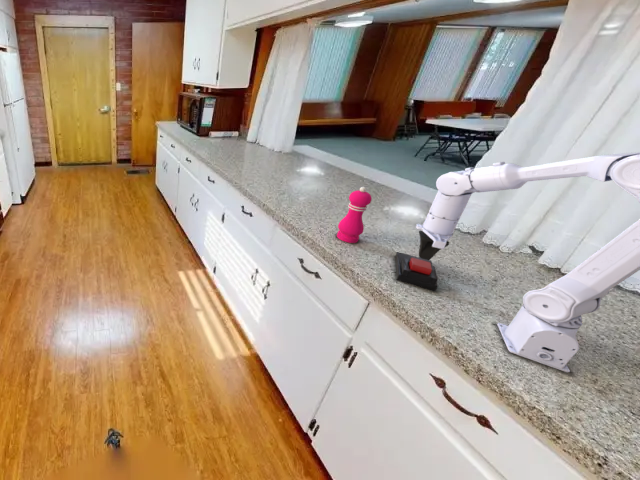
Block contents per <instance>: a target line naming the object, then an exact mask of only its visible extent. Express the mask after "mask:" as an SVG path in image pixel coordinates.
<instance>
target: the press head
mask: <svg viewBox="0 0 640 480" xmlns="http://www.w3.org/2000/svg"><path fill="white" fill-rule="evenodd" d="M409 267H410V270H414V271H417V272H421V273H424V274H428V275H430V273H431V271H432V268H431V263H430V262H426V261H423V260H419V259H415V258H411V260H410V262H409Z"/></svg>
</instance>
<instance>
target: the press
mask: <svg viewBox="0 0 640 480" xmlns="http://www.w3.org/2000/svg"><path fill="white" fill-rule="evenodd" d="M411 258H415V259H419V260H423V261H426V262H430V263H431V268H432V271H431V273H430V275H428V274H424V273H421V272H417V271H414V270H410V267H409V262H410V260H411ZM394 263H395V275H396V281H397V282H402V283H405V284H407V285H411V286H415V287H418V288H421V289H424V290H428V291H431V292H436V291H437V288H438V286H439V285H438V279H439V278H438V274H437V271H436V267H435V266H434V265H433V262H432V260H431V259H430V260H425V259H422V258H419V256H415V255H411V254H407V253H403V252H399V251H396V252H395V256H394Z"/></svg>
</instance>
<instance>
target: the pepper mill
mask: <svg viewBox="0 0 640 480" xmlns="http://www.w3.org/2000/svg"><path fill="white" fill-rule="evenodd" d="M372 199H373V198H372V195H371V194H370V193H369V192H367V188H366V187H365V186H361V187H359V189H358V190H354V191H352V192H351V193H350V194H349V196H348V200H349V202H348V205H347V207H348V211H347V214H346V215H345V216H344V217H343V218H342V219H341V220H340V221H339V222H338V226H337V228H338V231H337V233H336V237H337V238H338V239H339V240H341V241H342V242H344V243H349V244H357V243H358V242H359V239H360V235H362V234H363V233H364V230H365V226H364V222H363V214H364V212H366V211H367V208H368V205H370V204H371V203H372Z"/></svg>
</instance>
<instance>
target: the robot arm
mask: <svg viewBox="0 0 640 480" xmlns="http://www.w3.org/2000/svg"><path fill="white" fill-rule="evenodd" d="M581 177H588V178H591V179H594V180H595V181H599V182H602V183H604V182H610V181H612V183H614V184H615V185H616V186H618V187H619V188H620V189H622V191H625V192H626V193H627V194H629V195H630V196H632V197H633V198H635V199H636V200H637V201H638V203H639V204H640V151H635V152H634V151H633V152H622V153H621V152H620V153H610V154H609V153H608V154H600V155H593V156H588V157H587V156H586V157H581V158H573V159H569V160H568V159H567V160H561V161H555V162H549V163H544V164H543V163H542V164H538V165H530V166H521V165H519V164H516V163H513V162H509V163H506V162H505V161H500V162H498V161H497V162H493V163H492V165H490V166H484V167H477V168H475V167H474V166H473V167H466V168H464V170H458V171H449V172H447V173H444V174H441V175H440V176H439V177H437V179H436V182H435V186H436V190H437V192H436V194H435V196H434V199H433V201H432V203H431V206H430V208H429V210H428V213H427V215H426V217H425V219H424V221H423V224H420V223H416V224H415V228H416V229H417V230H418V234H419V249H418V257H419V258H422V259H425V260H430V261H431V259H433V257H434V256H435V255H436V254H437V253H438V252H440V251H441V250H444V249H445V248H446V247H448V246H450V241H449V240H450V239H451V238H452V237H453V236H454V232H455V229H456V227H457V225H458V224H459V221H460V219H461V218H462V215H463V214H464V211H465V209H466V207H467V205H468V203H469V200H470V198H471V196H472V194H474V193H488V192H498V191H507V190H509V191H510V190H517V189H520V188H522V187H523V186H524V185H526V184H527V183H528V182H536V181H537V182H538V181H546V180H547V181H548V180H556V179H557V180H558V179H559V180H560V179H568V178H581ZM639 271H640V218H639V219H637V220H636V221H634V222H633V223H632V224H630V226H628V227H627V228H625V229H624V230H622V231H621V232H620V233H619V234H617V235H616V236H615V237H613V238H612V239H610V240H609V241H608V242H607V243H605V244H604V245H603V246H601V248H599V249H597V250H596V251H595V252H594V253H592V254H591V255H590V256H589V257H587V258H586V259H585V260H583V261H582V262H581V263H579V264H578V265H577V266H576V267H574V268H572V269H571V270H570V271H569V272H568V273H566V274H565V275H563V276H561V277H559V278H557V279H556V280H553V281H552V282H550V283H548V284H546V286H544V287H542V288H538V289H532V290H528V291H527V292H525V294H524V295H523V297H522V303H523V304H522V305H521V307H520V308H519V309H518V311H517V312H516V313H515V315H514V317H513V318H512V319H511V321H510V323H509V324H508V325H507V324H504V323H500V322H497V324H496V325H497V328H498V330H499V332H500V334H501V337H502V340H503V341H504V343H505V346H506V348H507V350H508V352H509V353H511V354H514V355H516V356H520V357H521V358H525V359H528V360H530V361H533V362H536V363H538V364H539V363H540V364H541V365H544V366H548V367H551V368H553V369H556V370H558V371H562V372H564V373H570V372H571V370H570V368H569V366H568V363H569V362H570V361H571V360H572V359H573V358H574V356H575V355H576V354H577V352H578V351H579V350H580V345H579V344H580V343H579V342H578V340H577V333H578V331H579V329H580V328H581V327H582V326H583V317H582V316H583V315H586V314H591V313H594V312H596V311H597V310H599V309H600V307H601V303H602V299H603V298H604V297H606V296H607V295H609V293H610V290H612V289H614V288H615V287H616V286H618V285H619V284H621V283H622V282H623V281H624V282H625V280H627V279H628V278H630V277H631V276H633V275H635V274H636V273H638V272H639Z"/></svg>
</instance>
